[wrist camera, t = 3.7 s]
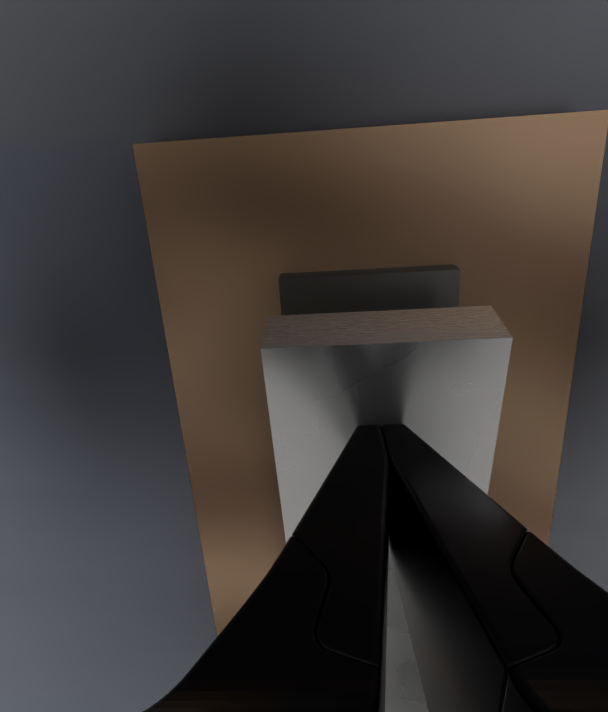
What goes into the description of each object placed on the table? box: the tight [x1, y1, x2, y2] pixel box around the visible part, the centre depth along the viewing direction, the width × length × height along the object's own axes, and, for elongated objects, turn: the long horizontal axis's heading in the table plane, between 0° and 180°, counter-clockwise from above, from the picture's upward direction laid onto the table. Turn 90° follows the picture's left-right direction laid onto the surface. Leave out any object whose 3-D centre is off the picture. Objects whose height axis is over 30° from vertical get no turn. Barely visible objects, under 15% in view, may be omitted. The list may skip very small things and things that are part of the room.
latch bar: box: [261, 305, 513, 712], centre depth 12 cm, size 15×4×1 cm, turn 4°
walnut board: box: [132, 110, 608, 636], centre depth 14 cm, size 20×10×3 cm, turn 4°
